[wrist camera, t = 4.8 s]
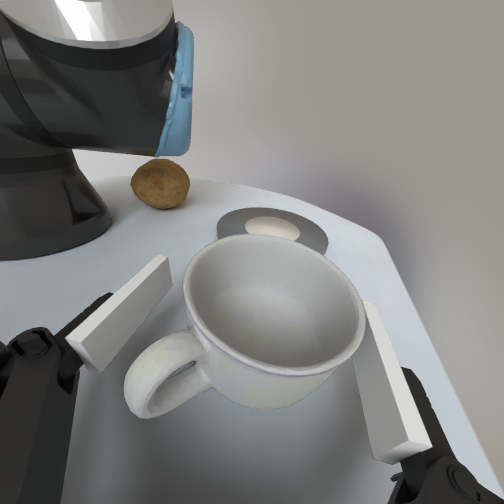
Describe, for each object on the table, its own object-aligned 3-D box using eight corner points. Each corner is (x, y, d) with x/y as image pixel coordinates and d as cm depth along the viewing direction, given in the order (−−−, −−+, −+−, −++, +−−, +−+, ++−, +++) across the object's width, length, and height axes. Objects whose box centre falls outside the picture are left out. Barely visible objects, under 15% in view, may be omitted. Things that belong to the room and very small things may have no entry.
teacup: (269, 286, 23) (283, 223, 18) (353, 372, 16) (408, 304, 11) (132, 343, 16) (99, 263, 11) (169, 546, 9) (121, 549, 4)
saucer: (197, 222, 34) (197, 216, 33) (273, 206, 44) (274, 202, 43) (266, 286, 23) (268, 279, 22) (348, 245, 33) (350, 239, 32)
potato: (188, 192, 46) (185, 154, 41) (194, 218, 35) (191, 171, 31) (141, 192, 43) (132, 151, 38) (132, 221, 32) (118, 168, 27)
